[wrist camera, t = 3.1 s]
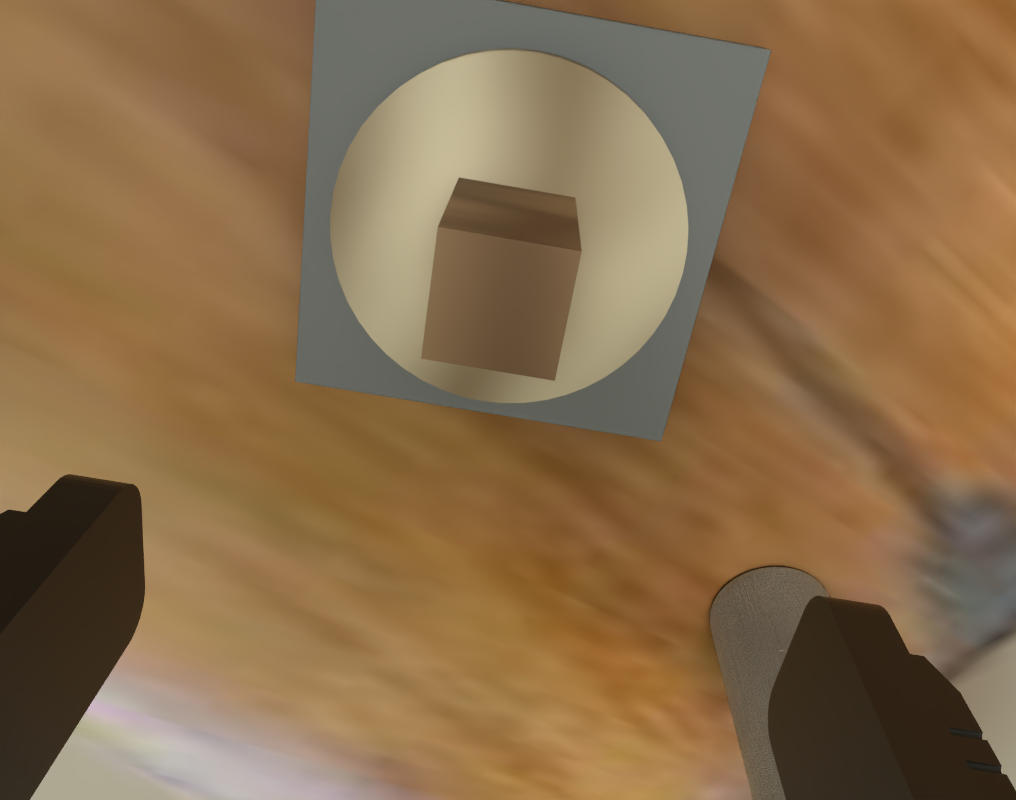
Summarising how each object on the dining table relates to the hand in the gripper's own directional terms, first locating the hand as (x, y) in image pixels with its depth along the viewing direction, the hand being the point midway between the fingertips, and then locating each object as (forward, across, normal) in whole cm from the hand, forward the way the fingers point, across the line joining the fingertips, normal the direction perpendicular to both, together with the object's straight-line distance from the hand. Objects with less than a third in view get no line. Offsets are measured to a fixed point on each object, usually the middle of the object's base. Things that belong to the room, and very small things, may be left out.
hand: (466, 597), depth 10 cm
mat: (+17, 0, 0) cm, 17 cm away
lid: (+16, 0, 0) cm, 16 cm away
